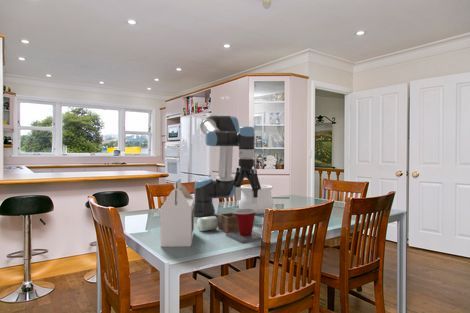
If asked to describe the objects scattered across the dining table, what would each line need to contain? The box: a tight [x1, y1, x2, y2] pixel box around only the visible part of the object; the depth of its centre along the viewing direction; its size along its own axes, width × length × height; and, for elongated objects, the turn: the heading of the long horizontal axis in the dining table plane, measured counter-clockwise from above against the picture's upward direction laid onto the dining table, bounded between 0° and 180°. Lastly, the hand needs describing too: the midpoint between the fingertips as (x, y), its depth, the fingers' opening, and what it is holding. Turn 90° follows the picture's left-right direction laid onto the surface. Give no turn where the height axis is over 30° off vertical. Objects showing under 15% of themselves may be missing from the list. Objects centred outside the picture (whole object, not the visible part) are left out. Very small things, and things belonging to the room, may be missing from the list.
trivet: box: [225, 230, 262, 244], centre depth 152 cm, size 14×14×1 cm
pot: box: [238, 184, 275, 215], centre depth 217 cm, size 26×24×18 cm
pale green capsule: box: [196, 215, 218, 232], centre depth 165 cm, size 9×7×7 cm
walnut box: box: [217, 212, 239, 234], centre depth 165 cm, size 9×9×8 cm
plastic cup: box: [234, 208, 256, 236], centre depth 152 cm, size 11×11×12 cm
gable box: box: [160, 178, 195, 248], centre depth 147 cm, size 22×13×28 cm, turn 4°
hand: (245, 202), depth 152 cm, fingers open, 13 cm apart
